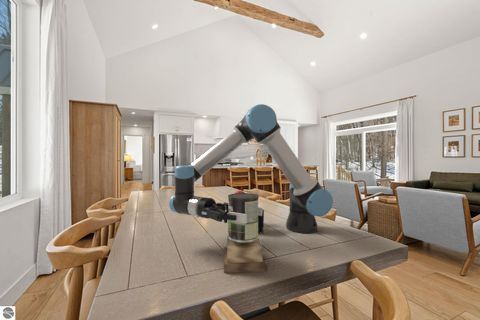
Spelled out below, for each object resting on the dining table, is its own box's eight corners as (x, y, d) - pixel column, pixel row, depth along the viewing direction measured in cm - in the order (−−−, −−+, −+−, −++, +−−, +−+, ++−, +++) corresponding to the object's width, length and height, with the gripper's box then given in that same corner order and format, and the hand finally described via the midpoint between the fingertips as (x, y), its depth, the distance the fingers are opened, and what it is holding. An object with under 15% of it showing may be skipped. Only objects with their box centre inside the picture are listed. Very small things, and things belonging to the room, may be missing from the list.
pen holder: (241, 228, 108) (241, 208, 108) (259, 226, 111) (259, 207, 111) (248, 235, 99) (248, 213, 99) (267, 232, 102) (267, 211, 102)
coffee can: (228, 243, 68) (228, 198, 68) (227, 232, 78) (227, 193, 78) (261, 242, 68) (261, 197, 68) (256, 231, 79) (256, 192, 79)
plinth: (259, 253, 80) (259, 234, 80) (266, 271, 67) (266, 248, 67) (224, 254, 79) (224, 235, 79) (224, 272, 66) (223, 249, 66)
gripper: (220, 210, 92) (268, 218, 80) (180, 224, 73) (235, 237, 61) (220, 193, 92) (268, 198, 80) (180, 202, 73) (235, 210, 61)
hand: (254, 215), depth 71 cm, fingers closed on coffee can, 10 cm apart
